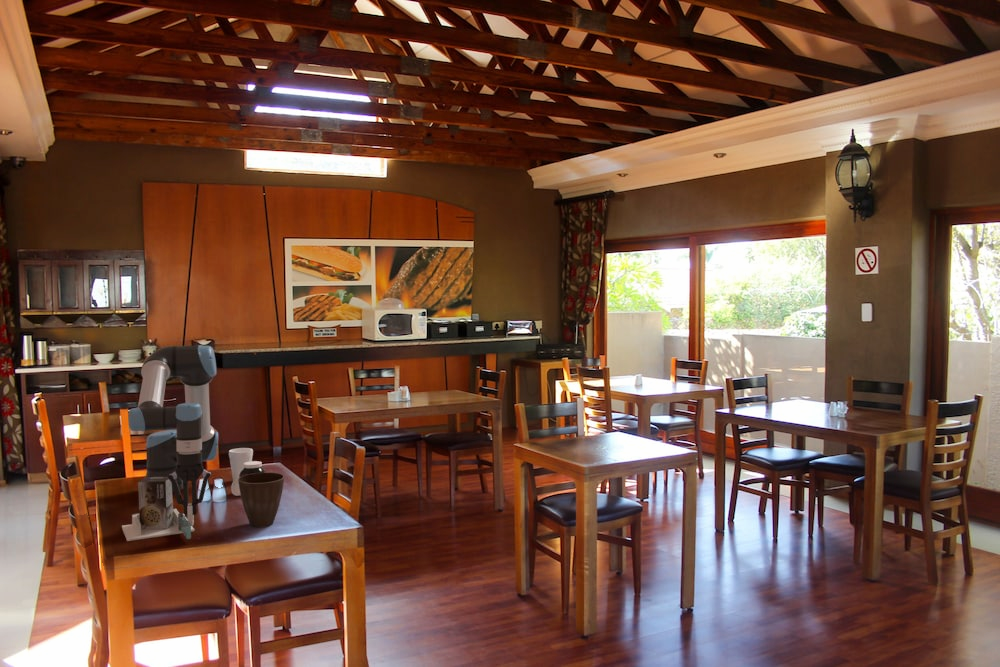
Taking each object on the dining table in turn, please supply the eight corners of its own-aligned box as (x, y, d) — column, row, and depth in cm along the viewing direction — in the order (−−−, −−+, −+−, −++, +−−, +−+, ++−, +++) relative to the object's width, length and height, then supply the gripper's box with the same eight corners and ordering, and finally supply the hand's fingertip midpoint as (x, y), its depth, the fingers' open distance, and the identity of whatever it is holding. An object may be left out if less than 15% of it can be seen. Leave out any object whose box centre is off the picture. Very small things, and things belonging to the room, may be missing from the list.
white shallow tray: (121, 527, 256) (121, 515, 256) (185, 518, 267) (185, 506, 266) (127, 541, 242) (126, 528, 242) (194, 531, 252) (194, 518, 252)
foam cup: (235, 485, 314) (234, 453, 314) (225, 481, 321) (225, 450, 320) (257, 481, 321) (256, 450, 320) (247, 477, 327) (246, 447, 327)
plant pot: (292, 524, 260) (292, 477, 259) (251, 533, 250) (250, 485, 249) (272, 515, 271) (271, 470, 270) (231, 523, 261) (230, 477, 260)
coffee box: (174, 523, 259) (173, 476, 258) (167, 529, 252) (166, 480, 251) (146, 524, 258) (145, 476, 257) (138, 529, 252) (137, 481, 251)
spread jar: (268, 489, 306) (268, 461, 306) (259, 497, 295) (259, 467, 295) (239, 489, 307) (238, 460, 306) (228, 497, 295) (227, 467, 295)
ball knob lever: (178, 528, 252) (177, 513, 251) (184, 527, 253) (184, 512, 252) (185, 540, 239) (185, 525, 239) (192, 539, 240) (192, 524, 240)
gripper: (165, 455, 240) (166, 529, 241) (209, 453, 243) (210, 526, 244) (169, 450, 247) (170, 522, 248) (212, 448, 250) (213, 520, 252)
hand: (190, 524), depth 246 cm, fingers closed
